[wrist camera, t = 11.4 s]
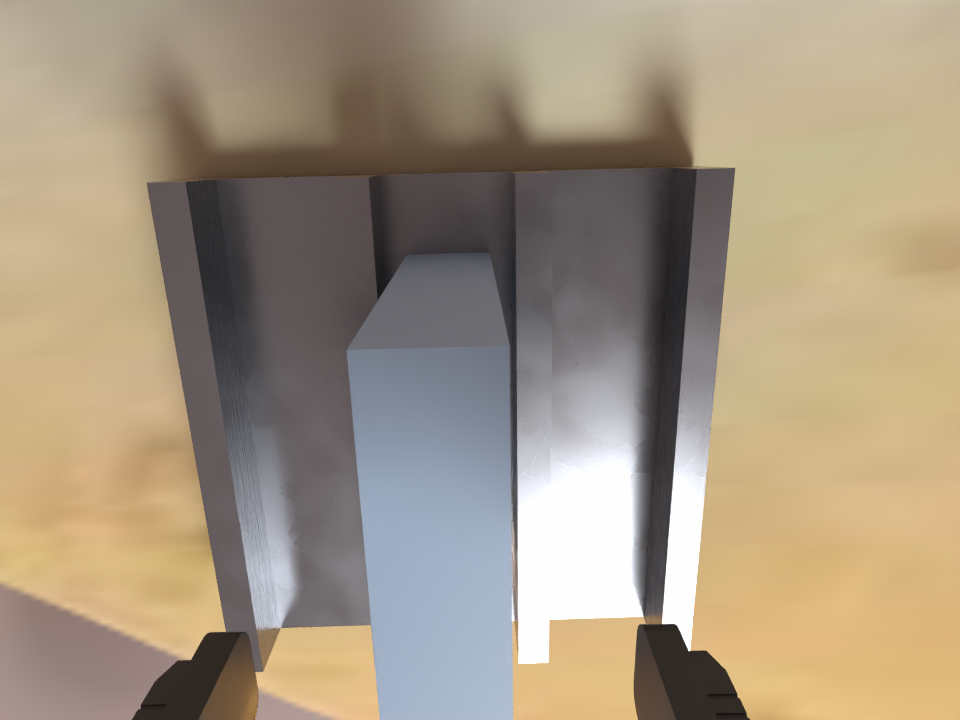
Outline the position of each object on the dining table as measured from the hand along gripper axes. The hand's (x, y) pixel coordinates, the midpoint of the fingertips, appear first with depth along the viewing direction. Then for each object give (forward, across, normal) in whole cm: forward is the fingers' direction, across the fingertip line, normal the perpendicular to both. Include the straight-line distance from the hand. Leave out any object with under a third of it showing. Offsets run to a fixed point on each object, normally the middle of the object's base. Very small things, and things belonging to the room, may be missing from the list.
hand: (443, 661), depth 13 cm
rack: (+14, 0, 0) cm, 14 cm away
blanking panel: (+13, 0, 0) cm, 13 cm away
